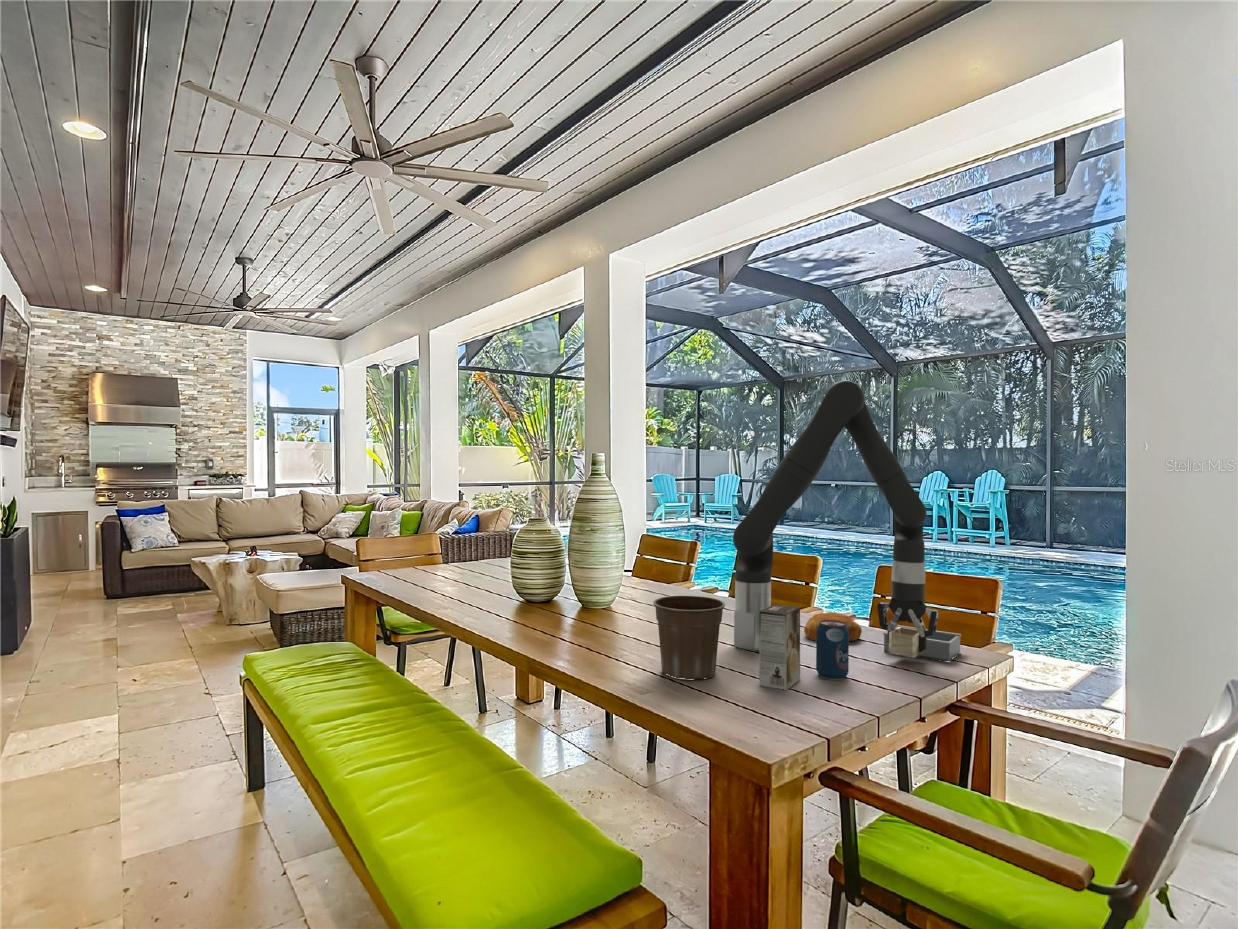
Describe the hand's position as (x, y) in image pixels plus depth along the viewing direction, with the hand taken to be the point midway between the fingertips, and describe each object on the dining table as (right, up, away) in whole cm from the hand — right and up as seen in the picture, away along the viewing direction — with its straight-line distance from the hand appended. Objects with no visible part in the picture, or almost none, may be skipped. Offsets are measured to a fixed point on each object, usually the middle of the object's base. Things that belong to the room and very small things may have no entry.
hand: (906, 648), depth 163 cm
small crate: (0, -1, 0) cm, 1 cm away
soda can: (-22, -3, -12) cm, 25 cm away
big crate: (+8, -3, +9) cm, 13 cm away
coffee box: (-35, -3, -17) cm, 39 cm away
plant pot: (-54, -3, -11) cm, 55 cm away
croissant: (-11, -4, +25) cm, 27 cm away
